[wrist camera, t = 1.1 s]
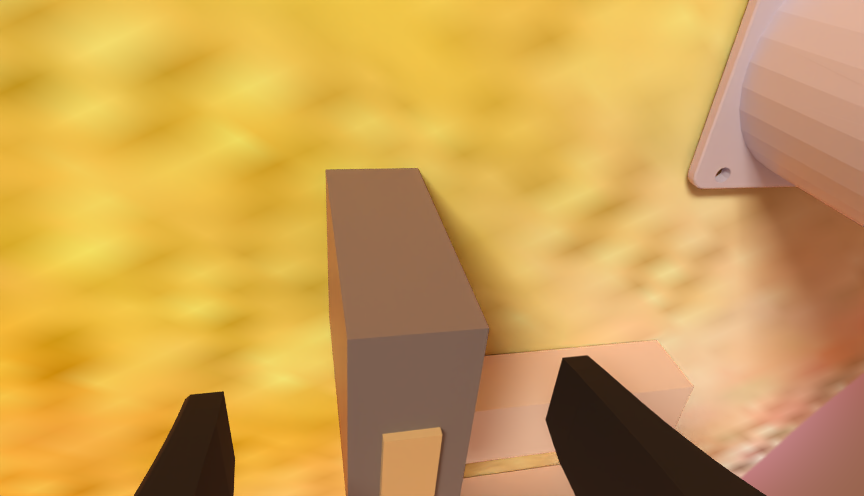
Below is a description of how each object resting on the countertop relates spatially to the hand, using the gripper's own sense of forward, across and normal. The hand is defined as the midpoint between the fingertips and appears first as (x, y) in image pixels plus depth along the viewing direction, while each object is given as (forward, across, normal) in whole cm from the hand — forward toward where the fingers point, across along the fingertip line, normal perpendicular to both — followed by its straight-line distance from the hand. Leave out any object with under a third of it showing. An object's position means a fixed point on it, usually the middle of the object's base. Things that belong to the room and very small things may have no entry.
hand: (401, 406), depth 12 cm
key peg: (+6, 0, 0) cm, 6 cm away
